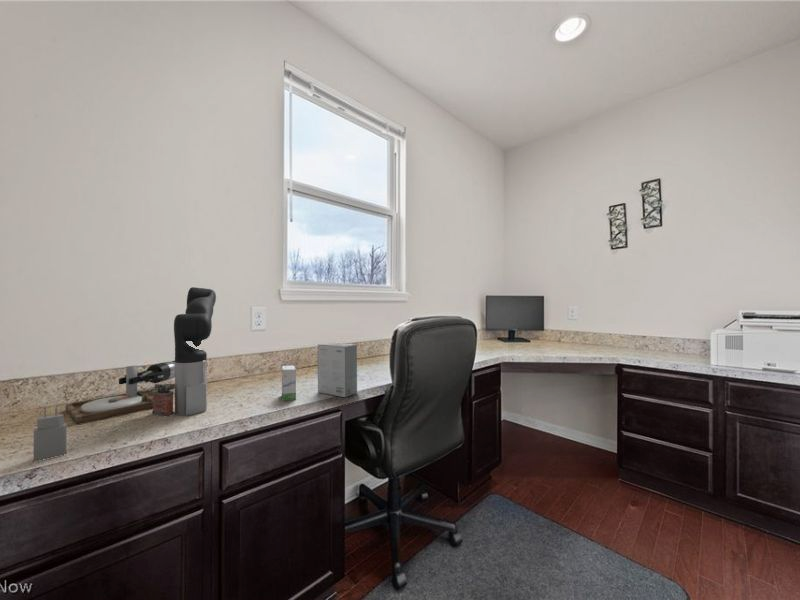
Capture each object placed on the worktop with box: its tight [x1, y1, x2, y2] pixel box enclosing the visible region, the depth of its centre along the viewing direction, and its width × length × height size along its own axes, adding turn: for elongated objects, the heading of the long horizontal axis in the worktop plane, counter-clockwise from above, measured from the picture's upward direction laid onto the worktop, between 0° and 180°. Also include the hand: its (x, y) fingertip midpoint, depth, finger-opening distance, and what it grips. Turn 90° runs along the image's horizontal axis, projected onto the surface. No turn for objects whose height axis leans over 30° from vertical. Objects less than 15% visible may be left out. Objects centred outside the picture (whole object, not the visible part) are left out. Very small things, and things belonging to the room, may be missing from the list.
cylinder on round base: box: [81, 364, 142, 414], centre depth 115 cm, size 16×16×12 cm
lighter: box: [151, 383, 175, 417], centre depth 110 cm, size 8×3×10 cm, turn 71°
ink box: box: [281, 365, 297, 402], centre depth 129 cm, size 8×5×12 cm, turn 22°
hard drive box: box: [317, 342, 358, 398], centre depth 135 cm, size 16×8×20 cm, turn 58°
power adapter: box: [32, 405, 68, 462], centre depth 80 cm, size 3×5×12 cm, turn 134°
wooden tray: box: [65, 390, 153, 426], centre depth 115 cm, size 21×21×2 cm
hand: (124, 381), depth 119 cm, fingers closed on cylinder on round base, 3 cm apart
